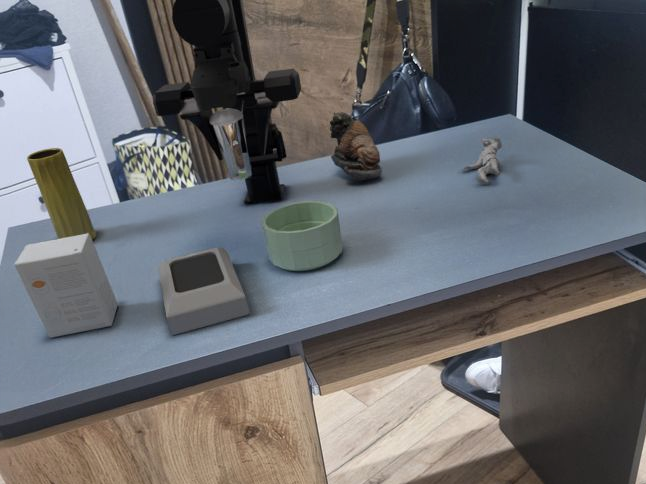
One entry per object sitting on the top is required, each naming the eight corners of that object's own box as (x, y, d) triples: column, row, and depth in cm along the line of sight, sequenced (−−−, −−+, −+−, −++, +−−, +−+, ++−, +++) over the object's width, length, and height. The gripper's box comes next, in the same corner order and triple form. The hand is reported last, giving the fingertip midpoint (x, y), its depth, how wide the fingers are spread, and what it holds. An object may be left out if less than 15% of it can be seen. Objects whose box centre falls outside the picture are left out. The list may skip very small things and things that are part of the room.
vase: (61, 251, 102) (24, 163, 94) (57, 238, 106) (22, 154, 98) (100, 240, 104) (67, 153, 96) (94, 228, 108) (62, 144, 100)
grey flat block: (163, 309, 74) (154, 258, 86) (172, 335, 76) (162, 282, 89) (243, 288, 76) (223, 240, 88) (250, 314, 78) (230, 264, 90)
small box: (119, 305, 85) (91, 231, 79) (113, 327, 80) (82, 251, 74) (58, 316, 84) (25, 243, 78) (48, 339, 79) (12, 263, 73)
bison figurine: (391, 178, 110) (386, 118, 104) (356, 189, 108) (348, 129, 102) (358, 162, 119) (351, 106, 114) (324, 172, 117) (316, 115, 111)
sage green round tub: (274, 244, 94) (266, 205, 91) (343, 236, 93) (338, 197, 90) (266, 277, 86) (257, 236, 82) (342, 269, 85) (335, 227, 82)
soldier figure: (463, 192, 104) (456, 147, 111) (484, 206, 106) (476, 160, 113) (499, 160, 99) (489, 114, 106) (520, 175, 101) (509, 130, 108)
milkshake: (255, 180, 88) (237, 105, 82) (220, 183, 89) (199, 109, 83) (266, 168, 91) (249, 96, 86) (232, 171, 93) (213, 100, 87)
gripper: (122, 55, 74) (161, 185, 83) (280, 34, 72) (302, 169, 81) (150, 39, 83) (182, 157, 92) (291, 20, 81) (310, 142, 90)
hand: (242, 157), depth 89 cm, fingers closed on milkshake, 5 cm apart
